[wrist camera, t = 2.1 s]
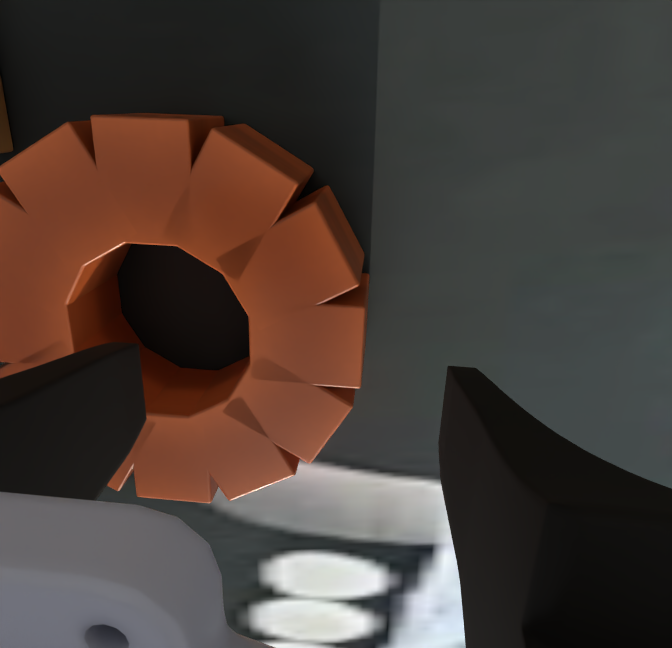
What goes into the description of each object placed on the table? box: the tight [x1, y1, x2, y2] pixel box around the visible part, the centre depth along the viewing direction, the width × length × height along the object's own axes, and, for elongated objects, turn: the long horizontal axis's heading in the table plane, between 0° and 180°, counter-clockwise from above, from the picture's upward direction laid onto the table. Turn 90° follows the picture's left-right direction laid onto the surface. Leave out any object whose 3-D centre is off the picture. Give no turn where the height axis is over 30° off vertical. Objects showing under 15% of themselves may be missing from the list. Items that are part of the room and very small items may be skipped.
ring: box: [0, 113, 369, 503], centre depth 17 cm, size 12×12×3 cm
